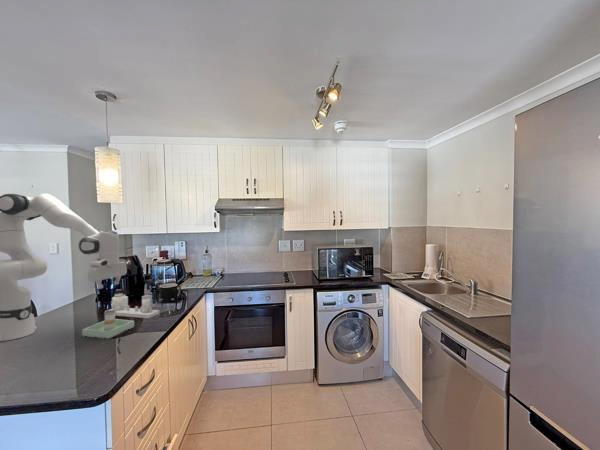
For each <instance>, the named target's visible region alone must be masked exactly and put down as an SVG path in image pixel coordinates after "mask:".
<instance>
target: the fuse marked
mask: <svg viewBox="0 0 600 450" xmlns="http://www.w3.org/2000/svg"><path fill="white" fill-rule="evenodd" d="M108 310H109V311H107V310H104V320H103V321H104V324H105V328H104V331H110V330H112V329H114V328H115V319H116V316H115V310H110V309H108Z"/></svg>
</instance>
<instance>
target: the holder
mask: <svg viewBox="0 0 600 450" xmlns="http://www.w3.org/2000/svg"><path fill="white" fill-rule="evenodd" d="M114 308H115V305H113V308H110V309H108V310H106V311H109V310H114ZM159 314H160V310H158V309H153V307H152V306H150V308H149V313H142V306H140V307H139V306H137V305H136V306H134V308H133V307H130V305H128V306H126V307H125V305H122V306H121V310H120V311H115V317H128V318H129V317H130V318H139V319H140V318H141V319H151V318H152V317H155V316H158V315H159Z"/></svg>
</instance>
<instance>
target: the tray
mask: <svg viewBox="0 0 600 450" xmlns="http://www.w3.org/2000/svg"><path fill="white" fill-rule="evenodd" d="M104 328H105V324H104V320H102V321H100V322H97V323H95V324H93V325H89V326H88V327H84V328H83V329H81V337H85V336H87V338H94V337H97V338H96V339H104V338H106V340H107V339H108V340H110V339H112V338H113V337H114V338H115V337H116V336H118V335H121V334H123V333H124V331H125V332H127V331H129V330H130V329H133V328H135V320H132V319H131V320H130V319H121V318H120V319H118V318H115V328H114V329H112V330H110V331H104ZM128 329H129V330H128ZM126 330H127V331H126ZM109 338H110V339H109Z"/></svg>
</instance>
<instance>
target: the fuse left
mask: <svg viewBox="0 0 600 450" xmlns="http://www.w3.org/2000/svg"><path fill="white" fill-rule="evenodd" d="M113 297H115V308H114V310H115V311H120V310H121V306H122V305H123V293H119V294H115V293H114V296H113Z"/></svg>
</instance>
